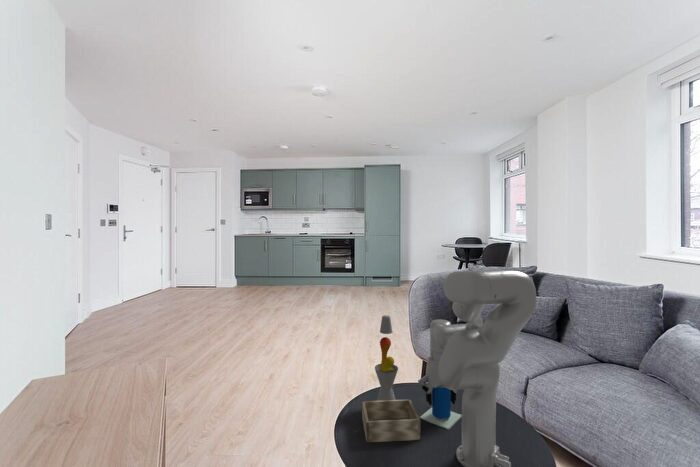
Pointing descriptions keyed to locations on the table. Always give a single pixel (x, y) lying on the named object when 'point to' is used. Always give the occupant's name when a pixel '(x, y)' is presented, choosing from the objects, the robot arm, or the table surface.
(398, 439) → the box
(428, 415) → the green mat
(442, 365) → the robot arm
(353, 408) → the table surface
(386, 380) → the lava lamp
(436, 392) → the beverage can
